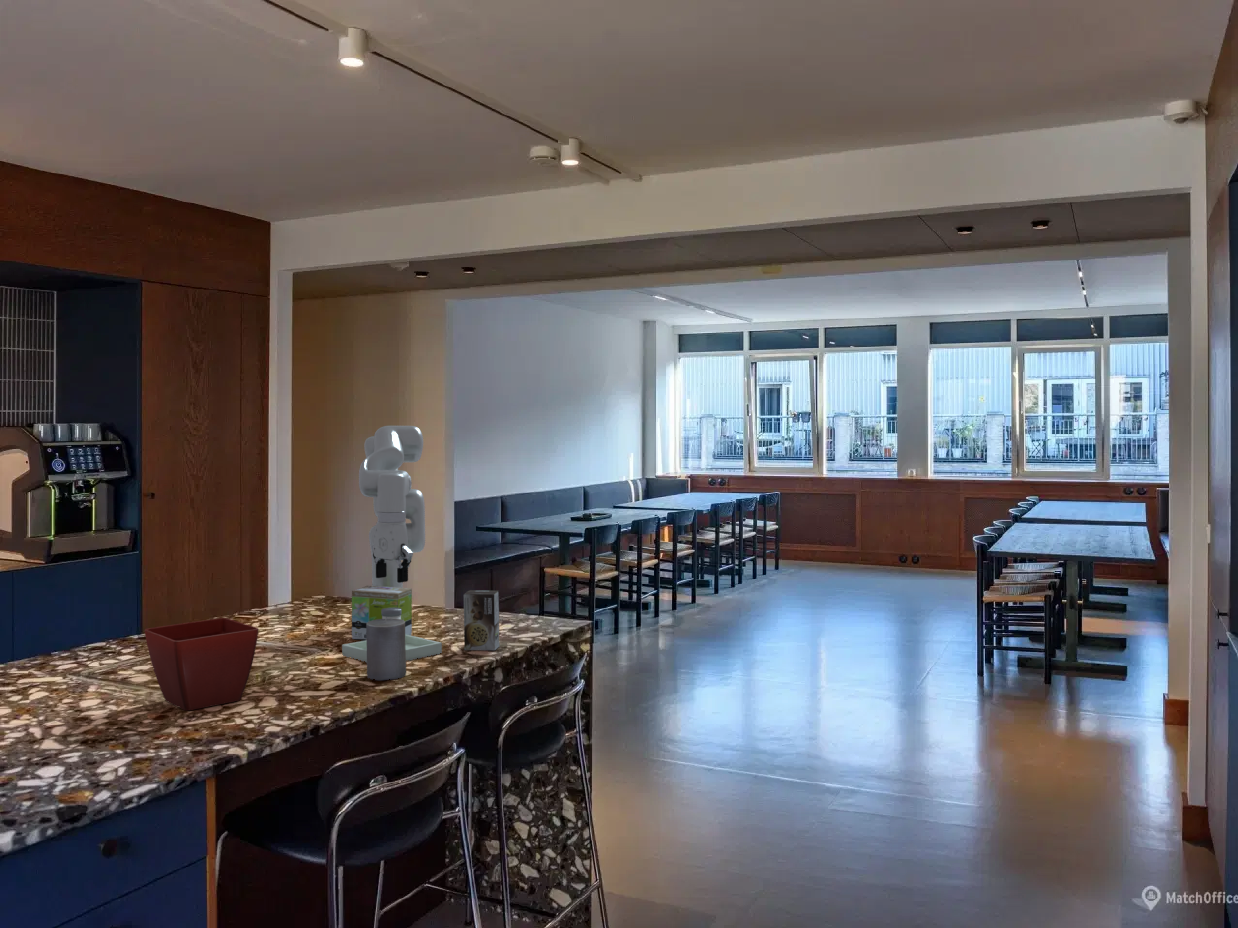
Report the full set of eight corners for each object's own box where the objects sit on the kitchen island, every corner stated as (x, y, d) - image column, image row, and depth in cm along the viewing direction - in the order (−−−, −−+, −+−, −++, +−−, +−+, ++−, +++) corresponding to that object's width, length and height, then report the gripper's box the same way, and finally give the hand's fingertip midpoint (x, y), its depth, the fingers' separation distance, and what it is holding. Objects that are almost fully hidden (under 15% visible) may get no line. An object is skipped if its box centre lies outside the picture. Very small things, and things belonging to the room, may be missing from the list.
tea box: (350, 640, 298) (350, 590, 297) (367, 633, 307) (366, 584, 307) (397, 643, 294) (397, 592, 293) (412, 635, 304) (412, 586, 303)
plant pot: (143, 700, 233) (142, 627, 232) (225, 685, 246) (225, 616, 245) (176, 718, 219) (175, 640, 218) (261, 701, 232) (260, 628, 232)
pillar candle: (384, 669, 263) (383, 611, 262) (414, 673, 258) (413, 615, 257) (358, 678, 254) (357, 618, 253) (388, 682, 250) (387, 622, 249)
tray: (342, 655, 278) (342, 644, 277) (402, 643, 293) (402, 633, 293) (381, 666, 266) (381, 654, 266) (441, 653, 281) (441, 642, 281)
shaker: (378, 650, 279) (377, 609, 279) (394, 647, 283) (393, 606, 283) (389, 653, 275) (389, 611, 275) (406, 650, 280) (405, 608, 279)
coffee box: (500, 645, 291) (500, 590, 290) (495, 650, 284) (495, 593, 284) (468, 645, 292) (468, 589, 291) (463, 650, 285) (463, 593, 284)
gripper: (361, 516, 281) (361, 577, 282) (399, 521, 269) (399, 585, 270) (384, 514, 286) (384, 574, 287) (422, 519, 275) (422, 581, 276)
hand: (391, 579), depth 279 cm, fingers open, 9 cm apart
